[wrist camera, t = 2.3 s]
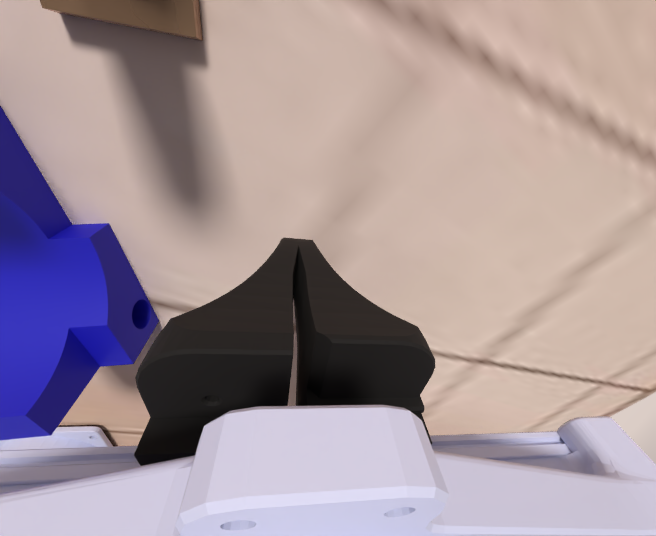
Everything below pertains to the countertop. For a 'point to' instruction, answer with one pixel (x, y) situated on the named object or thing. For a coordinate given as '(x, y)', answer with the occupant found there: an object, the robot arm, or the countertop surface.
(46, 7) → the post
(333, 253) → the countertop surface
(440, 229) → the countertop surface
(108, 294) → the cable clip
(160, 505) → the robot arm
